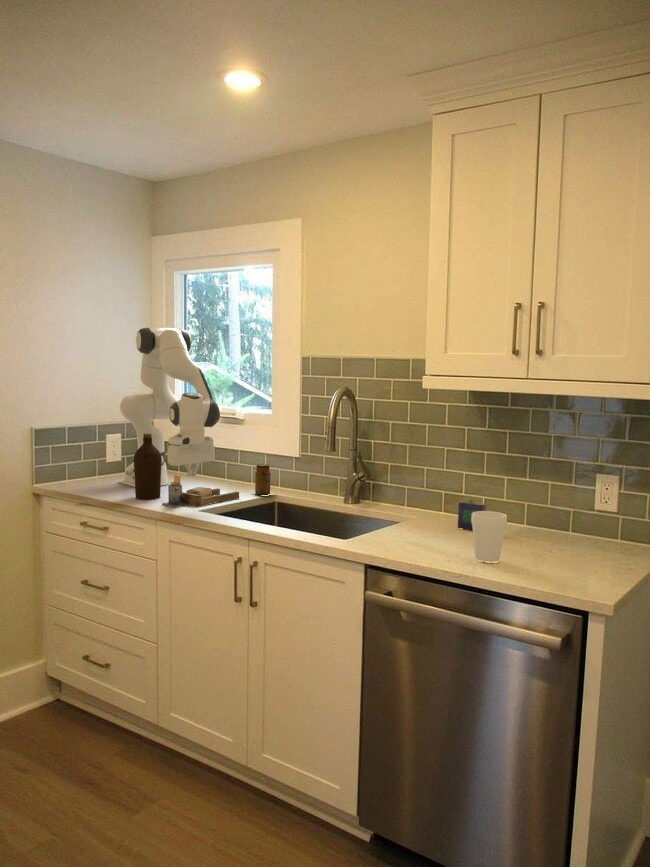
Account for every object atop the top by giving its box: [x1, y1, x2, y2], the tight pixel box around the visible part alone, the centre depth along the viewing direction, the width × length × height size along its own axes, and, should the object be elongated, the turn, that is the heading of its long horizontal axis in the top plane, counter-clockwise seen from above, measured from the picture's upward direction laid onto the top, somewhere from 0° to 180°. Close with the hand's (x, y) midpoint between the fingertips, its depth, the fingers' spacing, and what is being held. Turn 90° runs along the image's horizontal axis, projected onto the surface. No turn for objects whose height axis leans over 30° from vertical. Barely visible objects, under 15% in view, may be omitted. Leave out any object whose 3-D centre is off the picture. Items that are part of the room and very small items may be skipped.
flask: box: [457, 497, 487, 531], centre depth 237 cm, size 9×3×11 cm, turn 59°
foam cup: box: [471, 510, 508, 562], centre depth 200 cm, size 10×9×13 cm
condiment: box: [250, 463, 271, 496], centre depth 293 cm, size 7×8×12 cm
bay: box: [182, 488, 240, 507], centre depth 280 cm, size 12×22×4 cm, turn 143°
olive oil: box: [133, 434, 162, 501], centre depth 282 cm, size 11×11×25 cm
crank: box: [170, 474, 181, 489], centre depth 264 cm, size 12×3×5 cm, turn 16°
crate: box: [185, 486, 213, 498], centre depth 276 cm, size 6×8×5 cm
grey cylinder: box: [162, 483, 189, 508], centre depth 269 cm, size 7×7×8 cm
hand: (192, 475), depth 264 cm, fingers closed
